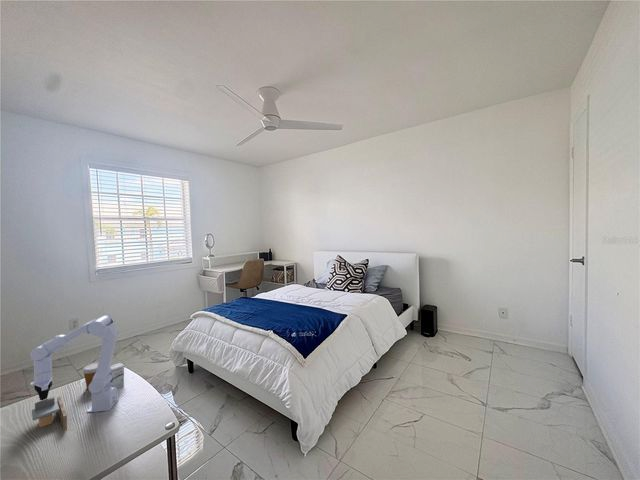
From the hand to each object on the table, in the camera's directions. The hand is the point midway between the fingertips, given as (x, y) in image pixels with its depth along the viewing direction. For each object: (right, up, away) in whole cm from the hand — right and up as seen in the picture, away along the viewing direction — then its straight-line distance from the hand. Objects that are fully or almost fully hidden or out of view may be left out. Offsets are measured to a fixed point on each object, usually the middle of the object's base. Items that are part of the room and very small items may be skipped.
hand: (43, 399), depth 121 cm
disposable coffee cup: (+5, -7, +22) cm, 24 cm away
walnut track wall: (+11, -8, -2) cm, 13 cm away
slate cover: (+6, -3, -5) cm, 8 cm away
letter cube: (+6, -8, -5) cm, 11 cm away
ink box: (+16, -7, +22) cm, 28 cm away
